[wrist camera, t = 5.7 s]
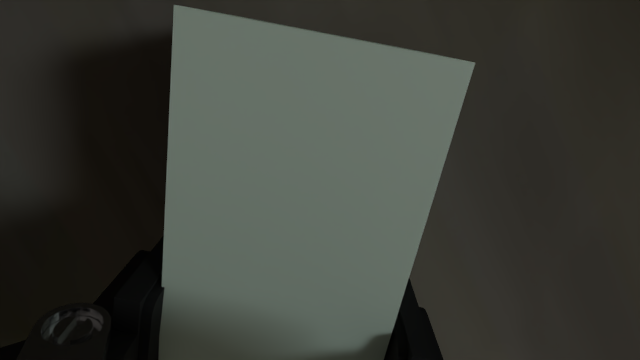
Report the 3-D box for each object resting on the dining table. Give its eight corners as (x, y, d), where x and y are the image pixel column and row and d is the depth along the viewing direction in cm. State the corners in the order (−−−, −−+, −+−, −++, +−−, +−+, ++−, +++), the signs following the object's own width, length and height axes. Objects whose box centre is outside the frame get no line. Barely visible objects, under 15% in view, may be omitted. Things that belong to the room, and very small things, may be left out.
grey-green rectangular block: (231, 14, 10) (174, 4, 6) (421, 51, 10) (474, 62, 7) (195, 407, 15) (150, 532, 11) (324, 426, 15) (323, 555, 11)
